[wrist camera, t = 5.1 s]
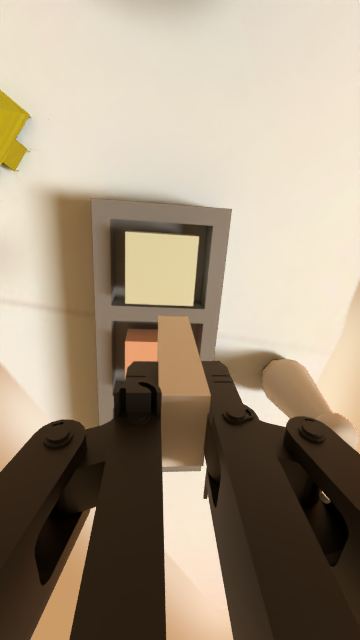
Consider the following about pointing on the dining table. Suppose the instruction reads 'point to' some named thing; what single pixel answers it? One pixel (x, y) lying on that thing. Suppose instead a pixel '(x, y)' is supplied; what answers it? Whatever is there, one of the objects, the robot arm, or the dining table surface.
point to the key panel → (120, 317)
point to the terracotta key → (140, 346)
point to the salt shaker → (303, 397)
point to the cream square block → (160, 268)
